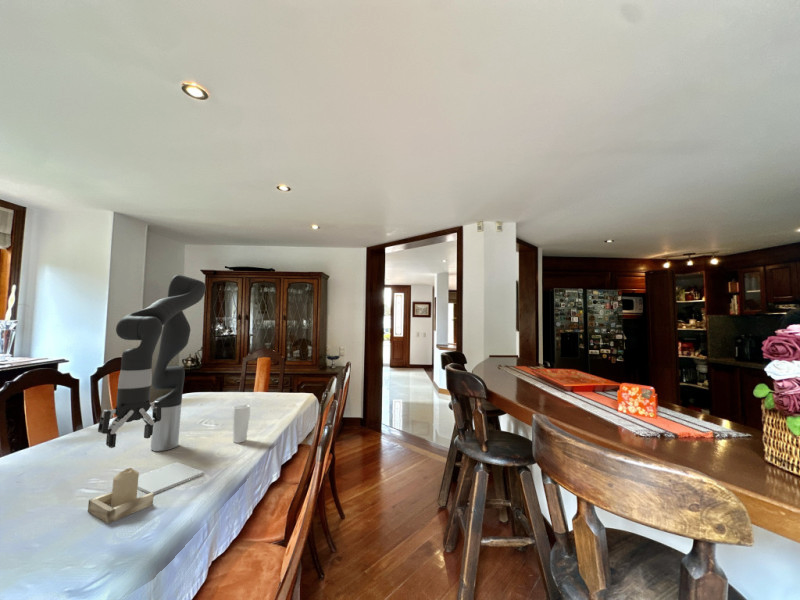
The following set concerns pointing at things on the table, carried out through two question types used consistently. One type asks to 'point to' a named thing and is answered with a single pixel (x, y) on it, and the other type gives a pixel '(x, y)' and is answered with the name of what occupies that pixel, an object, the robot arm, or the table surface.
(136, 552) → the table surface
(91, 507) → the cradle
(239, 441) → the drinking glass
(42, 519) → the table surface
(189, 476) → the plate
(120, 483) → the candle
